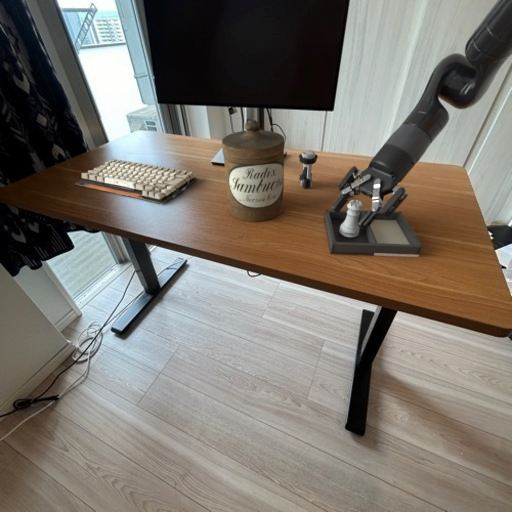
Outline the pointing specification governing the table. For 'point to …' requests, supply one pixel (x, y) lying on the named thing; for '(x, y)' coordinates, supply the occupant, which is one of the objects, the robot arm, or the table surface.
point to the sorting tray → (373, 236)
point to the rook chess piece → (351, 220)
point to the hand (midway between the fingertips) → (346, 218)
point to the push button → (307, 167)
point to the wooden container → (254, 172)
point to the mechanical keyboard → (137, 180)
